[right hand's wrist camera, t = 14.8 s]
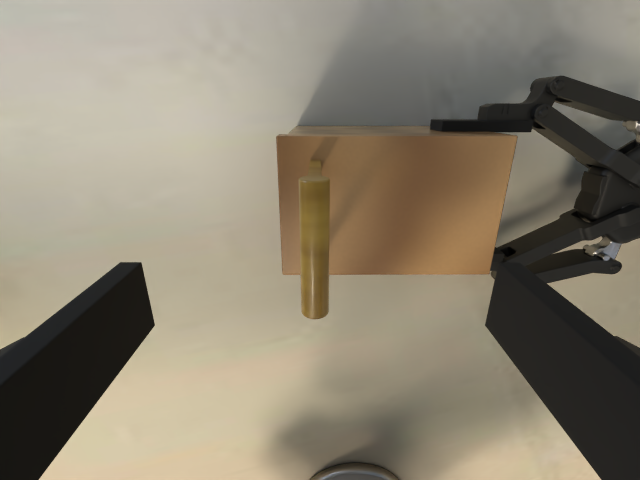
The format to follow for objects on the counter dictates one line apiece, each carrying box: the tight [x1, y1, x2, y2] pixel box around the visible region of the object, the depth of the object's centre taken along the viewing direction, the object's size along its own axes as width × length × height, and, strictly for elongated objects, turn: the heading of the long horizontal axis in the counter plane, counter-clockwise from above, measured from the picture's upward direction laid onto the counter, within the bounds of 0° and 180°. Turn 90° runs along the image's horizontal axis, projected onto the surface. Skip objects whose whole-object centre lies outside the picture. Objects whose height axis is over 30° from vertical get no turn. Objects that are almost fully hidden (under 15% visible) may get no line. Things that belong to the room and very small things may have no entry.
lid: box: [276, 134, 517, 319], centre depth 20 cm, size 15×10×9 cm, turn 90°
